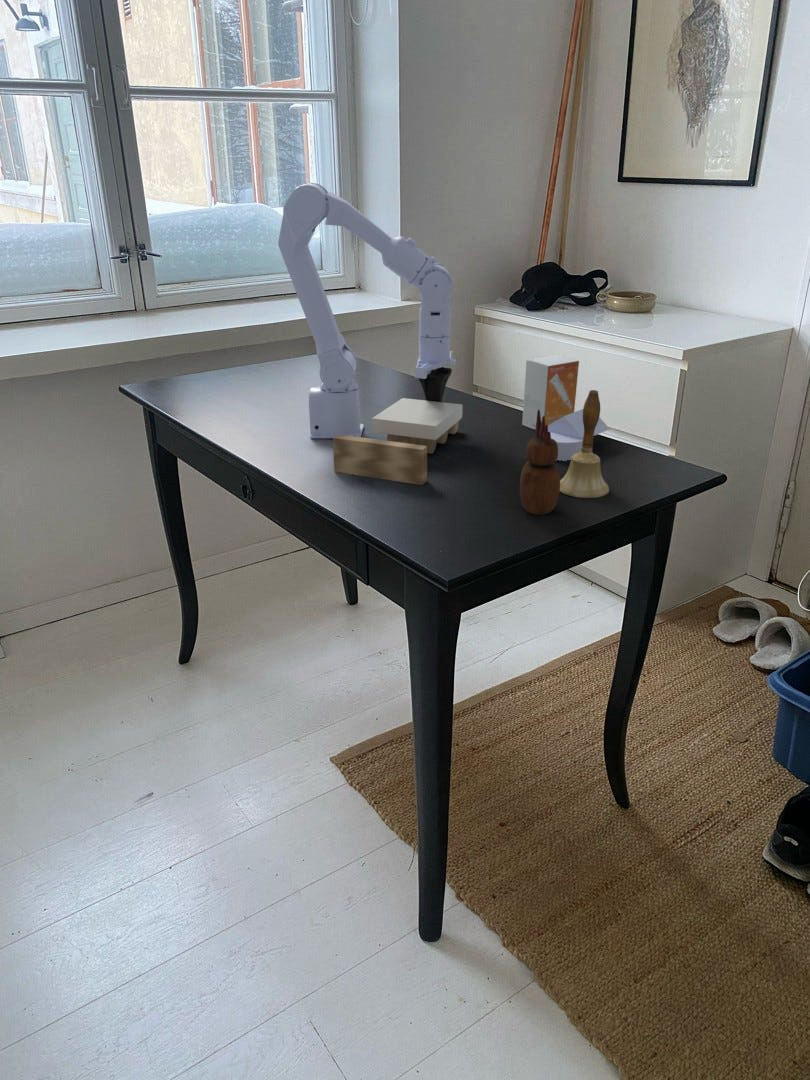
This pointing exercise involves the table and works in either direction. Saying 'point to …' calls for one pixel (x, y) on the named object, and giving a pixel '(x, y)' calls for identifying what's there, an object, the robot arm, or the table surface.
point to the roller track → (425, 442)
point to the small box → (549, 389)
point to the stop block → (380, 459)
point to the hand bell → (586, 458)
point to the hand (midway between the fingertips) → (433, 407)
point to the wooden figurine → (540, 472)
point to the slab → (417, 418)
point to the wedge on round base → (571, 434)
